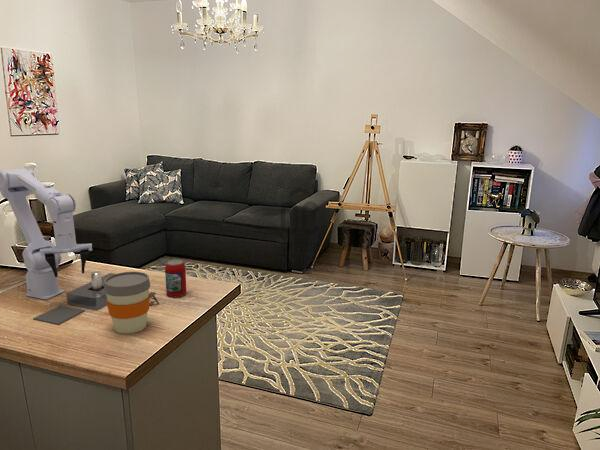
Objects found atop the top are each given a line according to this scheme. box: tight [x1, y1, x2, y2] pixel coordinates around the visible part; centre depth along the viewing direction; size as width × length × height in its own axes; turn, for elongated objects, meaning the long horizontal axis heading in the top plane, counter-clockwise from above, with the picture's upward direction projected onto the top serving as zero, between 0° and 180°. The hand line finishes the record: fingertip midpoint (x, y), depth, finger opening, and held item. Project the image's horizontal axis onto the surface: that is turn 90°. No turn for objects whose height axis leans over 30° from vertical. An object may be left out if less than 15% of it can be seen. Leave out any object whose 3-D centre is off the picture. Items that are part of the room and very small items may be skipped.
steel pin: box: [90, 271, 102, 291], centre depth 149 cm, size 3×3×10 cm
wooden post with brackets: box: [149, 291, 160, 307], centre depth 145 cm, size 2×8×4 cm, turn 113°
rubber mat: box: [32, 304, 86, 326], centre depth 138 cm, size 10×10×1 cm
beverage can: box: [164, 258, 187, 298], centre depth 154 cm, size 7×7×12 cm
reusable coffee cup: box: [104, 271, 151, 335], centre depth 130 cm, size 13×12×15 cm
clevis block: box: [65, 272, 115, 311], centre depth 152 cm, size 12×20×4 cm, turn 161°
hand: (69, 274), depth 143 cm, fingers open, 7 cm apart
